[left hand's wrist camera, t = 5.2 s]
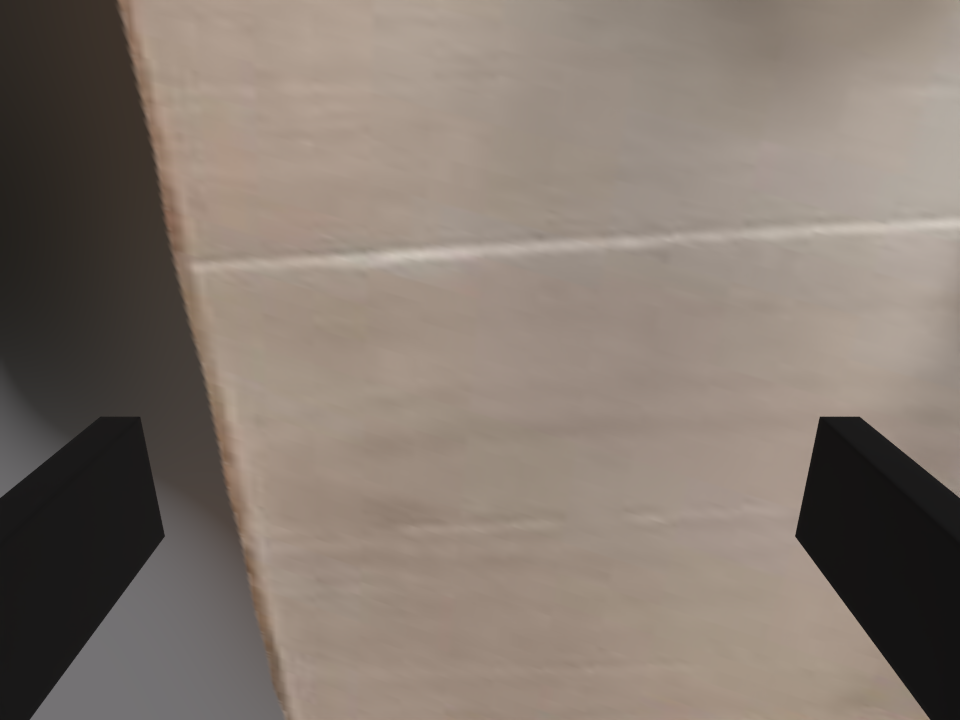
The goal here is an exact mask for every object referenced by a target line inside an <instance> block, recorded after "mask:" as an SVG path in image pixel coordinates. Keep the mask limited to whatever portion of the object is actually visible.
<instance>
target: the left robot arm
mask: <svg viewBox="0 0 960 720" xmlns="http://www.w3.org/2000/svg"><path fill="white" fill-rule="evenodd" d="M164 537H165V535H164V530H163V525H162V520H161V516H160V511H159V506H158V501H157V496H156V491H155V487H154V482H153V477H152V472H151V467H150V462H149V457H148V453H147V448H146V443H145V438H144V433H143V428H142V424H141V419H140V417H100V418H98V419H97V420H96V421H95V422H93V423H92V424H91V425H90V426H89V427H87V428H86V429H85V430H84V431H82V432H81V433H80V434H79V435H77V436H76V437H75V438H74V439H73V440H71V441H70V442H69V443H68V444H66V445H65V446H64V447H63V448H61V449H60V450H59V451H58V452H56V453H55V454H54V455H53V456H52V457H50V458H49V459H48V460H47V461H45V462H44V463H43V464H42V465H40V466H39V467H38V468H37V469H36V470H34V471H33V472H32V473H31V474H29V475H28V476H27V477H26V478H24V479H23V480H22V481H21V482H20V483H18V484H17V485H16V486H15V487H13V488H12V489H11V490H10V491H9V492H7V493H6V494H5V495H4V496H2V497H1V498H0V720H30V718H31V717H32V716H33V714H34V713H35V712H36V710H37V709H38V708H39V706H40V705H41V703H42V702H43V701H44V699H45V698H46V697H47V695H48V694H49V693H50V691H51V690H52V689H53V687H54V686H55V684H56V683H57V682H58V680H59V679H60V678H61V676H62V675H63V674H64V672H65V671H66V670H67V668H68V667H69V666H70V664H71V663H72V661H73V660H74V659H75V657H76V656H77V655H78V653H79V652H80V651H81V649H82V648H83V647H84V645H85V644H86V642H87V641H88V640H89V638H90V637H91V636H92V634H93V633H94V632H95V630H96V629H97V628H98V626H99V625H100V623H101V622H102V621H103V619H104V618H105V617H106V615H107V614H108V613H109V611H110V610H111V609H112V607H113V606H114V604H115V603H116V602H117V600H118V599H119V598H120V596H121V595H122V594H123V592H124V591H125V590H126V588H127V587H128V586H129V584H130V583H131V581H132V580H133V579H134V577H135V576H136V575H137V573H138V572H139V571H140V569H141V568H142V567H143V565H144V564H145V562H146V561H147V560H148V558H149V557H150V556H151V554H152V553H153V552H154V550H155V549H156V547H157V546H158V545H159V543H160V542H161V541H162V539H163V538H164ZM795 537H796V538H797V539H798V541H799V542H800V543H801V545H802V546H803V548H804V549H805V550H806V552H807V553H808V554H809V556H810V557H811V558H812V560H813V561H814V562H815V564H816V565H817V567H818V568H819V569H820V571H821V572H822V573H823V575H824V576H825V577H826V579H827V580H828V581H829V583H830V584H831V586H832V587H833V588H834V590H835V591H836V592H837V594H838V595H839V596H840V598H841V599H842V600H843V602H844V603H845V605H846V606H847V607H848V609H849V610H850V611H851V613H852V614H853V615H854V617H855V618H856V619H857V621H858V622H859V623H860V625H861V626H862V628H863V629H864V630H865V632H866V633H867V634H868V636H869V637H870V638H871V640H872V641H873V642H874V644H875V645H876V647H877V648H878V649H879V651H880V652H881V653H882V655H883V656H884V657H885V659H886V660H887V661H888V663H889V664H890V666H891V667H892V668H893V670H894V671H895V672H896V674H897V675H898V676H899V678H900V679H901V680H902V682H903V683H904V685H905V686H906V687H907V689H908V690H909V691H910V693H911V694H912V695H913V697H914V698H915V699H916V701H917V702H918V704H919V705H920V706H921V708H922V709H923V710H924V712H925V713H926V714H927V716H928V717H929V718H930V720H960V498H959V497H958V496H956V495H955V494H954V493H953V492H952V491H950V490H949V489H948V488H947V487H945V486H944V485H943V484H942V483H940V482H939V481H938V480H937V479H936V478H934V477H933V476H932V475H931V474H929V473H928V472H927V471H926V470H924V469H923V468H922V467H921V466H920V465H918V464H917V463H916V462H915V461H913V460H912V459H911V458H910V457H908V456H907V455H906V454H905V453H904V452H902V451H901V450H900V449H899V448H897V447H896V446H895V445H894V444H892V443H891V442H890V441H889V440H888V439H886V438H885V437H884V436H883V435H881V434H880V433H879V432H878V431H876V430H875V429H874V428H873V427H871V426H870V425H869V424H868V423H867V422H865V421H864V420H863V419H862V418H860V417H820V419H819V423H818V428H817V433H816V438H815V443H814V448H813V453H812V457H811V462H810V467H809V472H808V477H807V482H806V486H805V491H804V496H803V501H802V506H801V511H800V516H799V520H798V525H797V530H796V535H795Z"/></svg>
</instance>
